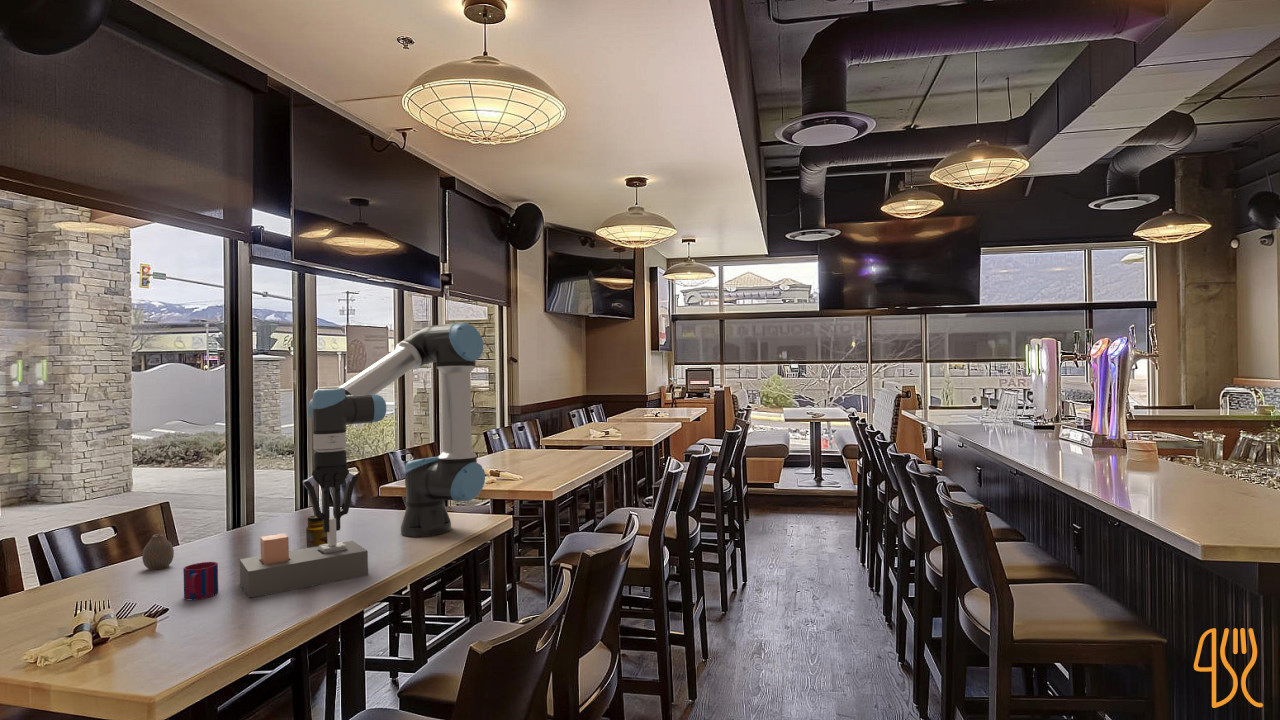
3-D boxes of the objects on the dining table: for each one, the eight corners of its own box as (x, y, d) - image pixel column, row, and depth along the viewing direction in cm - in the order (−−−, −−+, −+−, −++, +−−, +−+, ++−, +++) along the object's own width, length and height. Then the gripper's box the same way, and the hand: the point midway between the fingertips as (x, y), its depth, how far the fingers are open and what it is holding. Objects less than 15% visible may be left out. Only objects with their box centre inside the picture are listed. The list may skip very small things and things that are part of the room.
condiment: (336, 560, 188) (335, 515, 188) (303, 567, 182) (302, 521, 182) (326, 555, 193) (325, 512, 193) (294, 562, 187) (293, 517, 187)
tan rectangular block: (284, 557, 170) (284, 533, 170) (289, 562, 166) (288, 536, 166) (260, 561, 167) (260, 536, 167) (264, 566, 163) (263, 540, 163)
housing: (352, 563, 184) (352, 540, 184) (368, 574, 173) (367, 550, 173) (240, 584, 168) (239, 559, 168) (248, 598, 157) (248, 571, 157)
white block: (341, 565, 178) (340, 541, 178) (346, 569, 174) (346, 545, 174) (319, 569, 175) (318, 545, 175) (324, 573, 171) (323, 548, 171)
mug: (223, 589, 164) (222, 560, 164) (204, 603, 154) (204, 572, 155) (192, 592, 163) (191, 563, 163) (171, 606, 153) (170, 575, 153)
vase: (136, 571, 183) (135, 537, 183) (159, 564, 190) (159, 531, 190) (157, 572, 181) (156, 538, 181) (180, 564, 188) (179, 532, 188)
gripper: (305, 453, 168) (307, 551, 167) (361, 448, 176) (363, 542, 175) (298, 451, 174) (300, 546, 173) (353, 446, 182) (355, 537, 181)
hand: (332, 544), depth 174 cm, fingers closed
